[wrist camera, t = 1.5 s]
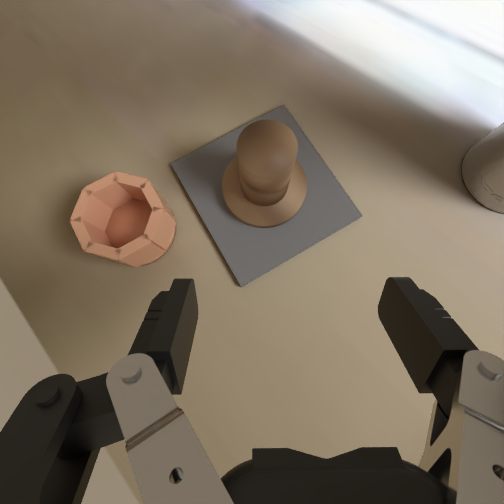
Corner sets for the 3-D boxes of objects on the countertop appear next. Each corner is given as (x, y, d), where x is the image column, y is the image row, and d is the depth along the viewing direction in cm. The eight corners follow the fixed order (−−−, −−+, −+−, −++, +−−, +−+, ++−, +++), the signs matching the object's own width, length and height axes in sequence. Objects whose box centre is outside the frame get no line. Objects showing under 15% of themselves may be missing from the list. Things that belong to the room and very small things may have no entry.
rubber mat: (283, 108, 33) (283, 104, 32) (360, 217, 30) (362, 215, 29) (172, 166, 31) (170, 163, 31) (241, 287, 29) (241, 286, 28)
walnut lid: (277, 138, 31) (285, 82, 24) (320, 202, 30) (344, 164, 22) (208, 175, 31) (192, 129, 23) (249, 243, 29) (247, 218, 21)
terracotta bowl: (156, 183, 31) (137, 159, 26) (188, 242, 30) (175, 229, 25) (91, 217, 30) (59, 199, 25) (121, 280, 29) (94, 273, 24)
